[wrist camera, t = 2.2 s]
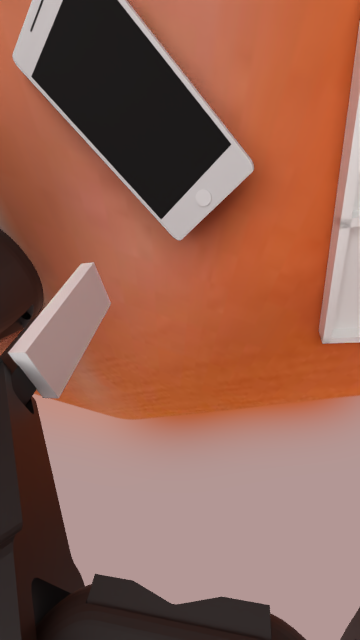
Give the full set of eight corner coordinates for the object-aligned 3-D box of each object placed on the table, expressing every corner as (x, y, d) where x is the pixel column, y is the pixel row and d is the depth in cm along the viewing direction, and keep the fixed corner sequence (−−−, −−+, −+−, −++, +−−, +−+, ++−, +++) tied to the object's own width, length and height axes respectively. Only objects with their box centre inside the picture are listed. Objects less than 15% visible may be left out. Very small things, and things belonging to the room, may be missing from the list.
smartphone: (181, 239, 23) (177, 243, 22) (19, 61, 19) (9, 58, 19) (257, 166, 19) (256, 168, 18) (71, -72, 15) (60, -83, 15)
